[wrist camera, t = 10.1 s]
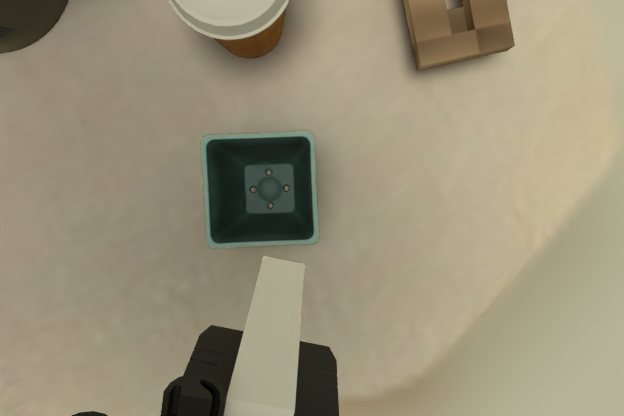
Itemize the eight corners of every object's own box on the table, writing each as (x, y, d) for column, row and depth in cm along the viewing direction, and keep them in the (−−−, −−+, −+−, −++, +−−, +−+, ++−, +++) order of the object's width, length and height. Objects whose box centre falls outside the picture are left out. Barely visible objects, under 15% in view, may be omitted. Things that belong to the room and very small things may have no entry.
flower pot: (314, 140, 42) (314, 129, 34) (318, 231, 43) (319, 244, 34) (223, 144, 43) (199, 134, 34) (228, 235, 43) (206, 249, 34)
